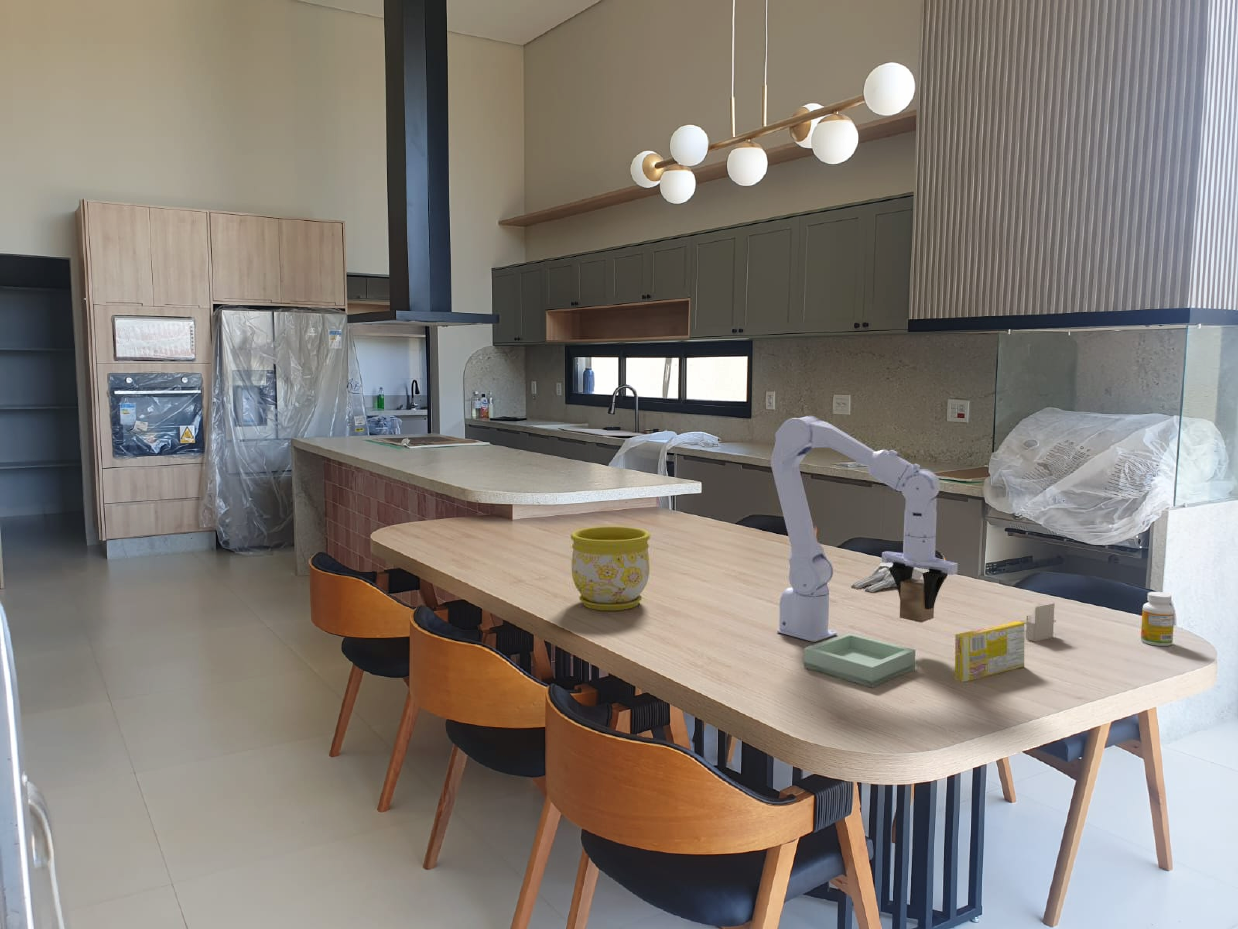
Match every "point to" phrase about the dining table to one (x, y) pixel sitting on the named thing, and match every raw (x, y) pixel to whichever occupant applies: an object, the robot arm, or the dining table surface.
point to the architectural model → (1040, 622)
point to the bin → (859, 659)
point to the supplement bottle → (1158, 620)
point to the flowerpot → (610, 566)
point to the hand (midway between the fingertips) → (917, 605)
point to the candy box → (989, 651)
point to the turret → (882, 578)
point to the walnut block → (914, 601)
